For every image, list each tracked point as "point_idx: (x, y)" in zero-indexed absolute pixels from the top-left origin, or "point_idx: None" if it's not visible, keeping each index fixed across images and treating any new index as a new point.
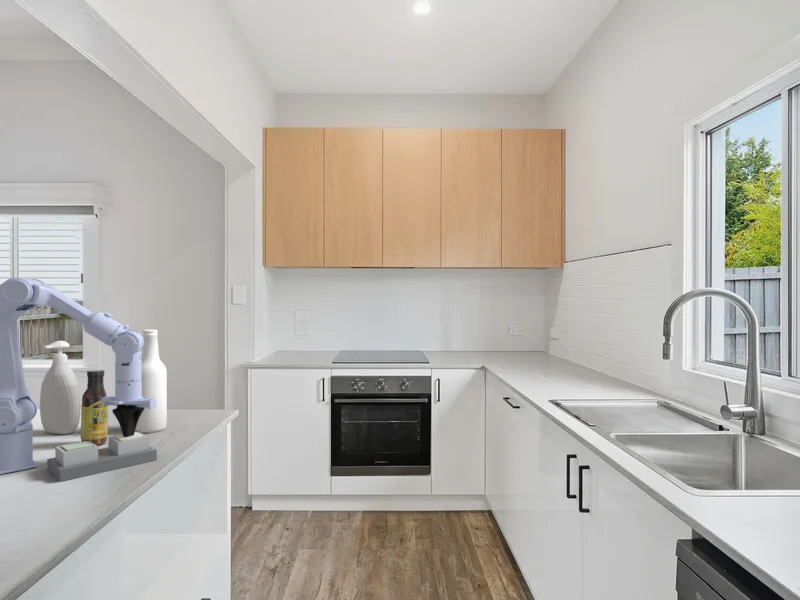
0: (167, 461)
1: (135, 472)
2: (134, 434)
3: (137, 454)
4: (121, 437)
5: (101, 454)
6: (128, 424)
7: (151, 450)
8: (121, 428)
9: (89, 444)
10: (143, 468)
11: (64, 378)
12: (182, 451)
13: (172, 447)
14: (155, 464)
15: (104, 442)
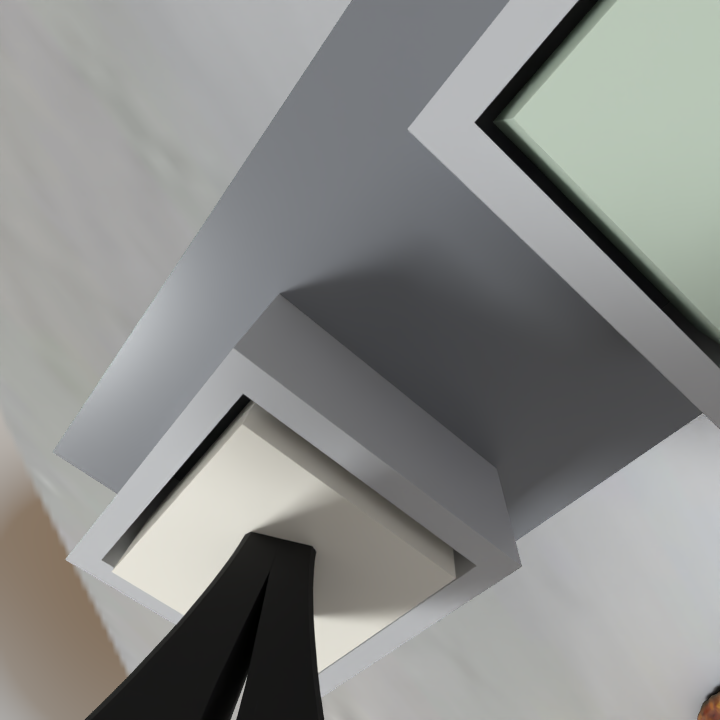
0: (10, 381)
1: (33, 100)
2: None
3: (129, 342)
4: (312, 517)
5: (478, 318)
6: (124, 682)
7: (79, 435)
8: (298, 635)
9: (596, 164)
10: (52, 215)
11: None
12: None
13: None
14: (39, 315)
15: (698, 716)
